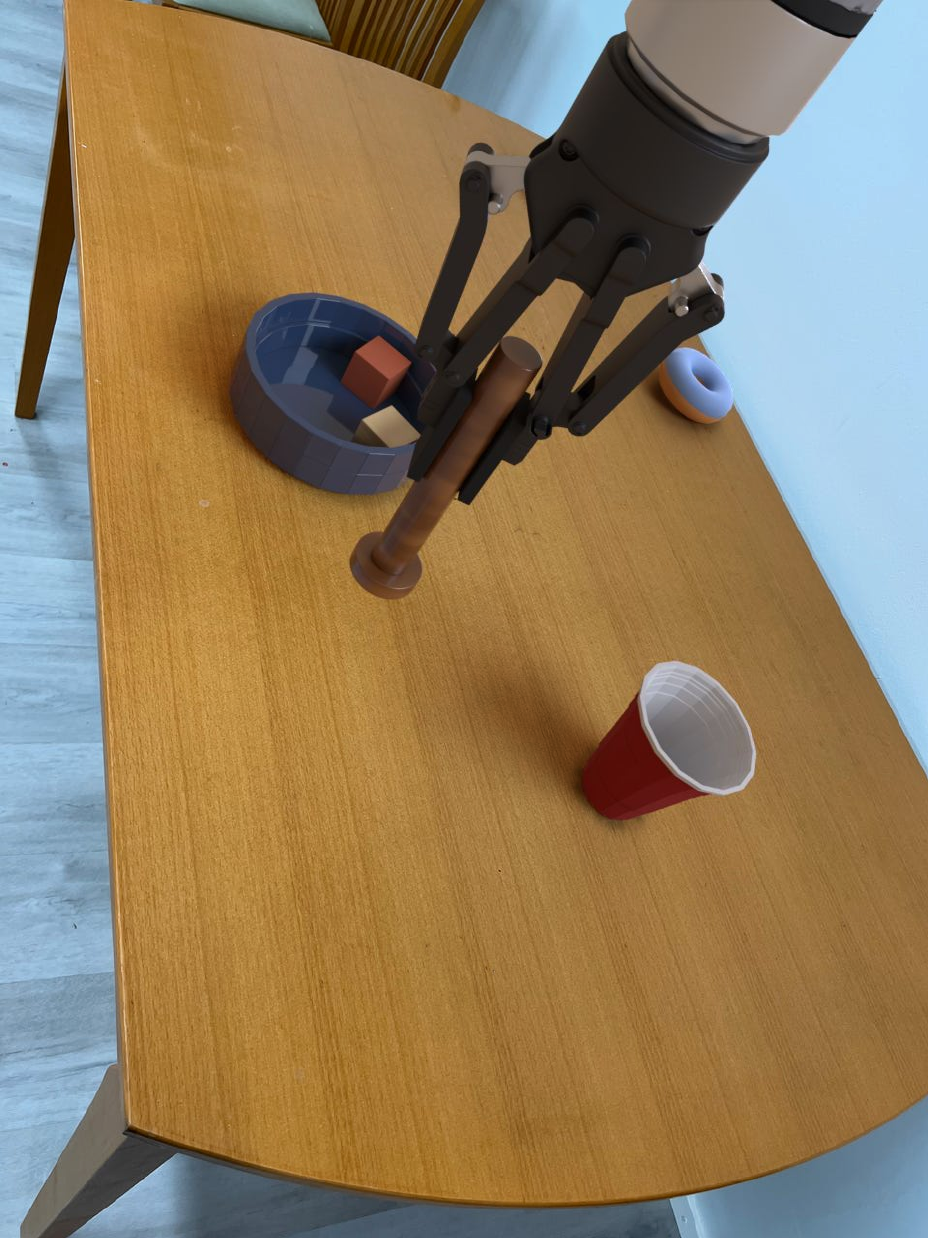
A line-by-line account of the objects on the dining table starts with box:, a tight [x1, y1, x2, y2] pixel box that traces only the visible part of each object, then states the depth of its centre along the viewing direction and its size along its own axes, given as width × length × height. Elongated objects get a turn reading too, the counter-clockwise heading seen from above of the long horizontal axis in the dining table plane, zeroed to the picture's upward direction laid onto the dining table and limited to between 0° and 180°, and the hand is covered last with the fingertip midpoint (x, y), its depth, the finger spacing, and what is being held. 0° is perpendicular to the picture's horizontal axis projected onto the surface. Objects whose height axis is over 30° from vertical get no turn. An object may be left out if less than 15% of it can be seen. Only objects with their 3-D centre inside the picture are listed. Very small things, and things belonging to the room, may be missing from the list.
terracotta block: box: [341, 335, 411, 409], centre depth 90 cm, size 4×4×4 cm
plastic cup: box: [581, 660, 757, 822], centre depth 75 cm, size 11×11×12 cm
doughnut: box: [657, 347, 734, 425], centre depth 115 cm, size 10×10×5 cm
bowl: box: [228, 291, 436, 496], centre depth 86 cm, size 19×19×6 cm
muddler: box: [348, 335, 544, 601], centre depth 54 cm, size 4×4×18 cm
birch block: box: [351, 405, 421, 448], centre depth 86 cm, size 4×4×4 cm
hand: (442, 474), depth 54 cm, fingers closed on muddler, 2 cm apart
